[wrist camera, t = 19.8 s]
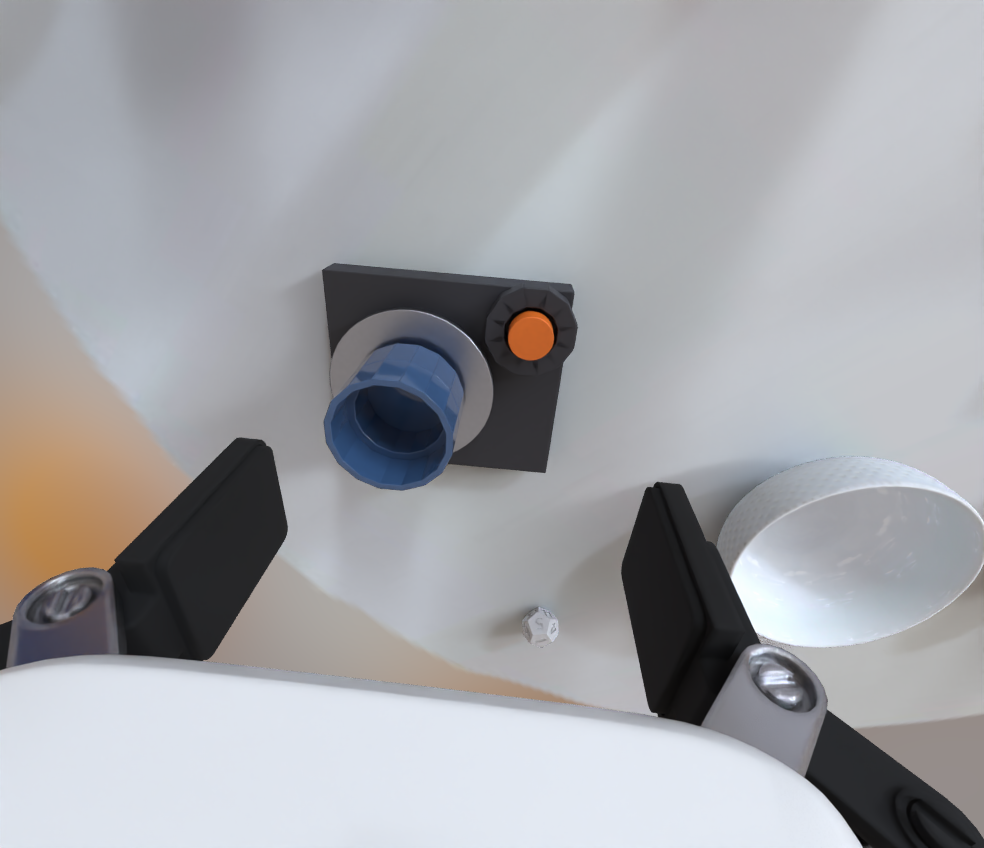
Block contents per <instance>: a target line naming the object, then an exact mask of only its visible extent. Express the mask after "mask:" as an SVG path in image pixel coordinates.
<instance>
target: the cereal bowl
mask: <svg viewBox="0 0 984 848" xmlns="http://www.w3.org/2000/svg"><path fill="white" fill-rule="evenodd" d="M716 548H717V549H718V551H719V553H720V555H721V558H722V560H723V562H724V564H725V566H726V569H727V571H728V573H729V575H730V577H731V580H732V582H733V584H734V586H735V588H736V591H737V593H738V595H739V597H740V599H741V601H742V604H743V606H744V608H745V610H746V612H747V615H748V617H749V619H750V621H751V623H752V626H753V628H754V630H755V632H756V634H758V635H760V636H762V637H765V638H767V639H769V640H772V641H775V642H779V643H782V644H787V645H792V646H799V647H810V648H832V647H843V646H850V645H857V644H862V643H866V642H871V641H875V640H878V639H882V638H885V637H888V636H891V635H894V634H896V633H899V632H902V631H904V630H906V629H908V628H911V627H913V626H915V625H917V624H919V623H921V622H923V621H925V620H926V619H928V618H930V617H931V616H933V615H935V614H936V613H938V612H939V611H941V610H942V609H944V608H945V607H947V606H948V605H949V604H950V603H952V602H953V601H954V600H955V599H956V598H957V597H959V596H960V595H961V594H962V593H963V592H964V591H965V590H966V589H967V588H968V587H969V586H970V584H971V583H972V582H973V581H974V579H975V578H976V577H977V575H978V573H979V572H980V570H981V568H982V566H983V564H984V521H983V520H982V518H981V516H980V515H979V514H978V512H977V511H976V510H975V509H974V508H973V507H972V506H971V505H970V504H969V503H968V502H967V501H966V500H964V499H963V498H961V497H960V496H959V495H958V494H957V493H956V492H955V491H953V490H951V489H949V488H948V487H947V486H946V485H945V484H943V483H941V482H939V481H938V480H937V479H936V478H934V477H931V476H929V475H927V474H926V473H925V472H923V471H919V470H917V469H915V468H914V467H911V466H907V465H905V464H903V463H898V462H894V461H892V460H884V459H881V458H872V457H858V456H851V457H846V456H843V457H831V458H826V459H820V460H816V461H813V462H807V463H805V464H801V465H798V466H794V467H792V468H790V469H787V470H785V471H782V472H780V473H779V474H776V475H775V476H772V477H770V478H769V479H768V480H766V481H764V482H763V483H760V484H759V485H758V486H757V487H755V488H754V489H753V490H751V491H750V492H749V493H748V494H747V495H745V496H744V497H743V498H742V499H741V500H740V501H739V503H738V504H737V505H735V507H734V508H733V510H732V511H731V513H730V514H729V516H728V518H727V519H726V521H725V523H724V526H723V527H722V529H721V532H720V535H719V537H718V543H717V546H716Z"/></svg>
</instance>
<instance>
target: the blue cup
mask: <svg viewBox="0 0 984 848" xmlns="http://www.w3.org/2000/svg"><path fill="white" fill-rule="evenodd" d="M463 398H464V392H463V388H462V385H461V383H460V380H459V378H458V375H457V373H456V371H455V370H454V369H453V368H452V367H451V366H450V365H449V364H448V363H447V362H446V361H445V360H444V359H443V358H442V357H441V356H440V355H439V354H437V353H435V352H433V351H431V350H428V349H426V348H424V347H422V346H419V345H411V344H400V343H397V344H392V345H389V346H386V347H383V348H379V349H377V350H375V351H374V352H373V353H371V354H370V355H369V356H368V357H367V358H366V359H365V360H364V361H363V362H362V363H361V364H360V365H359V366H358V368H357V369H356V370H355V371H354V373H353V374H352V375H351V376H350V378H349V379H348V380H347V381H346V383H345V384H344V385H343V386H342V388H341V389H340V390H339V392H338V393H337V394H336V395H335V397H334V398H333V399H332V401H331V402H330V405H329V408H328V410H327V413H326V416H325V419H324V429H325V437H326V443H327V445H328V447H329V449H330V451H331V452H332V454H333V456H334V457H335V459H336V461H337V463H338V464H339V465H341V466H342V467H343V468H344V469H345V470H346V471H348V472H349V473H350V474H351V475H352V476H354V477H355V478H356V479H358V480H360V481H363V482H365V483H367V484H370V485H372V486H374V487H377V488H380V489H391V490H401V491H402V490H407V489H412V488H416V487H420V486H424V485H426V484H427V483H429V482H430V481H432V480H433V479H434V478H436V477H437V476H439V475H440V474H442V472H443V471H444V469H445V467H446V465H447V464H448V462H449V460H450V458H451V456H452V454H453V450H454V445H455V441H456V437H457V433H458V428H459V424H460V420H461V416H462V412H463Z"/></svg>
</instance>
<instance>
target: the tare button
mask: <svg viewBox="0 0 984 848" xmlns="http://www.w3.org/2000/svg"><path fill="white" fill-rule="evenodd" d="M553 342H554V334H553V328H552V324H551V322H550V321H549V319H548V318H547V317H546V316H545V315H543V314H542V313H540V312H537V311H526V312H523V313H520V314H519V315H517V316H516V317H515V318H514V319H513V320H512V322H511V324H510V326H509V331H508V344H509V347H510V349H511V351H512V352H513V353H514V354H515V355H516V356H517V357H519V358H521V359H524V360H537V359H540V358H542V357H544V356H545V355H546V354H547V353H548V352H549V351H550V350H551V348H552V346H553Z"/></svg>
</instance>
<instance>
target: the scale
mask: <svg viewBox="0 0 984 848" xmlns="http://www.w3.org/2000/svg"><path fill="white" fill-rule="evenodd" d="M322 273H323V282H324V292H325V301H326V311H327V320H328V330H329V339H330V349H331V358H332V357H333V354H334V352H335V349H336V347H337V345H338V343H339V342H340V340H341V339H342V337H343V336H344V335H345V334H346V333H347V331H348V330H349V329H350V328H351V327H353V326H354V325H355V324H356V323H357V322H359V321H360V320H362V319H363V318H365V317H367V316H369V315H371V314H374V313H376V312H379V311H383V310H387V309H393V308H415V309H421V310H425V311H429V312H432V313H435V314H438V315H440V316H442V317H445V318H447V319H448V320H450V321H452V322H453V323H455V324H457V325H458V326H459V327H461V328H462V329H463V330H464V331H466V332H467V333H468V334H469V335H470V336H471V337H472V338H473V339H474V341H475V342H476V343H477V345H478V346H479V347H480V349H481V350H482V352H483V354H484V355H485V357H486V359H487V362H488V364H489V366H490V370H491V373H492V378H493V385H494V396H493V403H492V408H491V411H490V415H489V417H488V419H487V422H486V424H485V425H484V427H483V428H482V430H481V431H480V433H479V434H478V435H477V436H476V437H475V438H474V439H473V440H472V441H471V442H469V443H468V444H467V445H466V446H464V447H462V448H461V449H459V450H457V451H455V452H453V454H452V456H451V458H450V460H449V462H448V464H456V465H467V466H477V467H488V468H498V469H509V470H519V471H530V472H540V473H545V472H546V467H547V461H548V454H549V448H550V442H551V436H552V429H553V423H554V417H555V411H556V405H557V398H558V392H559V386H560V380H561V374H562V367H563V362H564V361H565V359H566V358H567V357H568V356H569V355H570V353H571V352H572V351H573V349H574V346H575V340H576V334H577V328H578V327H577V322H576V319H575V316H574V314H573V311H572V305H573V299H574V290H573V288H572V285H571V284H561V283H550V282H539V281H527V280H516V279H505V278H494V277H482V276H471V275H460V274H449V273H437V272H426V271H415V270H403V269H392V268H381V267H370V266H358V265H347V264H336V263H334V264H332V265H330V266H328V267H326V268H325V269H323V270H322ZM526 311H537V312H540V313H542V314H543V315H545V316H546V317H547V318H548V319H549V321H550V322H551V324H552V328H553V334H554V342H553V346H552V348H551V350H550V351H549V352H548V353H547V354H546V355H545V356H544V357H542V358H540V359H537V360H524V359H521V358H519V357H517V356H516V355H515V354H514V353H513V352H512V351H511V349H510V347H509V344H508V331H509V326H510V324H511V322H512V320H513V319H514V318H515V317H516V316H517V315H519V314H520V313H523V312H526Z"/></svg>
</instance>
